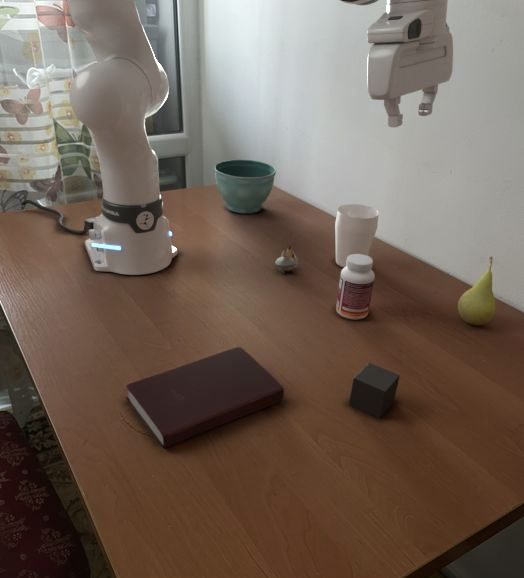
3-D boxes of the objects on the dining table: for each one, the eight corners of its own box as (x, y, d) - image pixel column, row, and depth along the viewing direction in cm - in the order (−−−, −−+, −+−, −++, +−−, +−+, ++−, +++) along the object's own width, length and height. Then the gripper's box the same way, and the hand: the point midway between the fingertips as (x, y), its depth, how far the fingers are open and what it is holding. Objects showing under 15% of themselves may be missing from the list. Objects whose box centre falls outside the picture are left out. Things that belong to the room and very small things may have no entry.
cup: (352, 275, 118) (360, 222, 111) (321, 260, 123) (328, 209, 116) (378, 265, 123) (388, 213, 116) (348, 251, 128) (355, 201, 121)
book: (283, 403, 80) (285, 385, 79) (164, 452, 71) (162, 433, 69) (238, 361, 89) (238, 344, 87) (125, 400, 79) (123, 382, 77)
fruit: (452, 326, 102) (468, 267, 95) (455, 308, 107) (471, 251, 101) (489, 334, 100) (509, 275, 93) (491, 316, 106) (509, 258, 99)
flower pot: (285, 209, 150) (288, 169, 144) (243, 223, 140) (245, 181, 134) (244, 194, 159) (245, 156, 153) (202, 206, 149) (201, 166, 143)
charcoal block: (348, 404, 81) (353, 377, 78) (364, 388, 84) (369, 362, 82) (379, 418, 79) (385, 391, 76) (393, 401, 82) (400, 375, 79)
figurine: (278, 275, 116) (280, 249, 112) (271, 267, 119) (273, 241, 116) (301, 273, 117) (303, 247, 114) (293, 264, 121) (296, 239, 117)
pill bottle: (374, 315, 103) (385, 262, 97) (350, 323, 100) (359, 269, 94) (353, 301, 108) (361, 249, 102) (328, 309, 105) (336, 256, 99)
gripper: (430, 18, 91) (425, 108, 98) (359, 31, 79) (359, 132, 86) (467, 16, 87) (458, 109, 94) (398, 29, 75) (394, 134, 82)
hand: (410, 120), depth 90 cm, fingers open, 8 cm apart
